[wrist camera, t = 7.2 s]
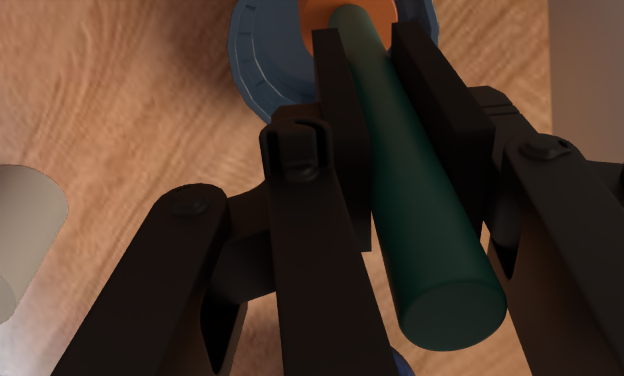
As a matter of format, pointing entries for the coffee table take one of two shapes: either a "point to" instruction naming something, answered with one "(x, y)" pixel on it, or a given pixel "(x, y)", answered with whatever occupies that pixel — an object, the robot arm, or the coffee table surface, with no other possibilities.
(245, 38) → the bowl
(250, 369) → the coffee table surface
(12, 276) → the beige cylinder
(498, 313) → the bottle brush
